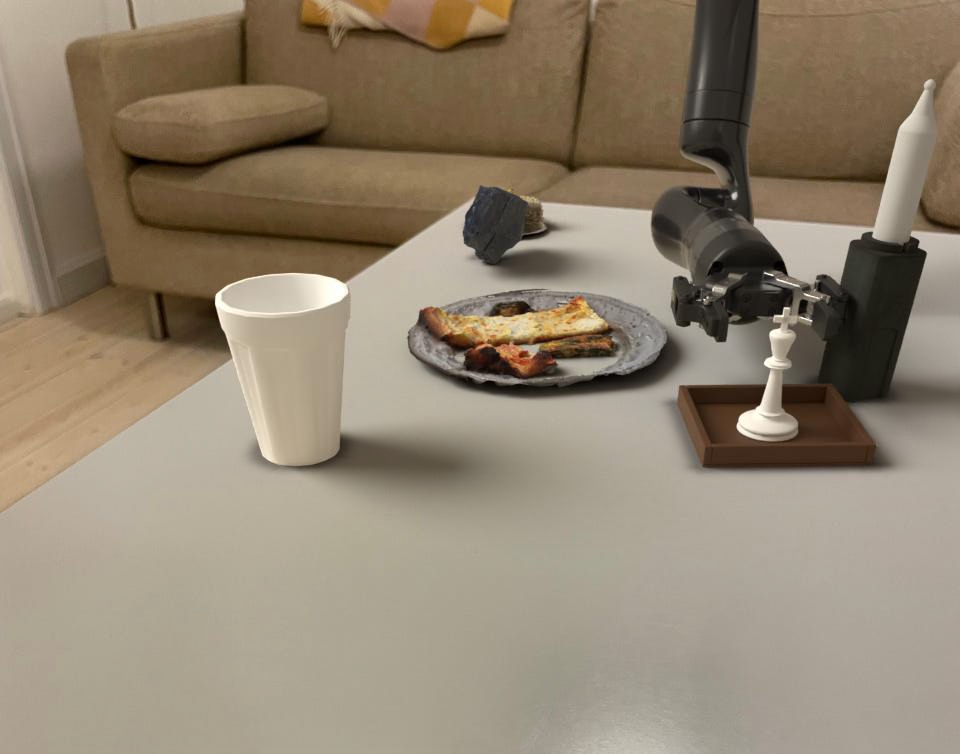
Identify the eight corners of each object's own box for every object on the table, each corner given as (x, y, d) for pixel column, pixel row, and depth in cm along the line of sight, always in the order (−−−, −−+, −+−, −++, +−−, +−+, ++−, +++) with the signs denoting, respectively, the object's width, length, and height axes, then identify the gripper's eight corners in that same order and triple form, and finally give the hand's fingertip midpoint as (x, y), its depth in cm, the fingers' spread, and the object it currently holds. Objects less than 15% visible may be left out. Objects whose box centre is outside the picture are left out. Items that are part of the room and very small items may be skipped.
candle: (840, 406, 91) (922, 83, 76) (810, 385, 95) (883, 74, 80) (891, 403, 92) (981, 84, 77) (860, 382, 96) (940, 75, 81)
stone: (482, 246, 132) (482, 162, 127) (529, 248, 132) (531, 163, 126) (461, 279, 121) (460, 188, 116) (512, 282, 120) (514, 190, 115)
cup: (228, 440, 87) (202, 281, 79) (344, 421, 90) (330, 266, 82) (253, 492, 79) (227, 323, 71) (379, 469, 82) (367, 304, 74)
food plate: (428, 412, 91) (427, 373, 89) (391, 324, 109) (389, 290, 107) (698, 387, 95) (703, 349, 93) (619, 306, 113) (621, 273, 111)
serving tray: (827, 408, 91) (832, 383, 90) (870, 472, 81) (877, 444, 80) (676, 409, 91) (679, 384, 90) (701, 473, 81) (705, 446, 80)
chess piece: (735, 415, 88) (752, 296, 82) (794, 418, 87) (816, 299, 82) (738, 440, 84) (756, 317, 78) (800, 443, 83) (824, 320, 78)
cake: (457, 236, 138) (454, 192, 136) (504, 221, 145) (502, 180, 142) (515, 242, 133) (513, 197, 130) (562, 227, 139) (561, 184, 136)
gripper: (661, 228, 94) (693, 283, 81) (818, 226, 94) (876, 281, 81) (654, 310, 98) (683, 376, 85) (804, 309, 99) (856, 374, 85)
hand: (777, 330), depth 83 cm, fingers open, 8 cm apart
